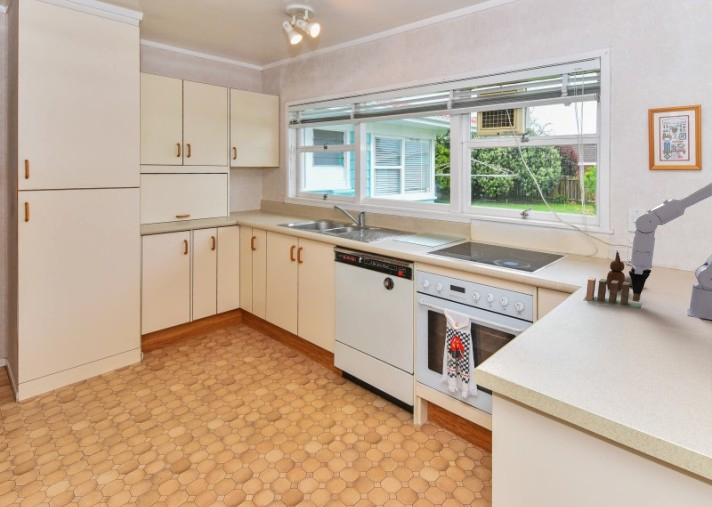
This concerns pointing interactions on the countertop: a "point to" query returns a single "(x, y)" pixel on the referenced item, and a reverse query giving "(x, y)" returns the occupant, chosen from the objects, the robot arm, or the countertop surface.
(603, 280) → the domino
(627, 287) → the domino
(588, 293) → the domino end
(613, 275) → the wooden figurine
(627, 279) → the garlic bulb
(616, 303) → the mat
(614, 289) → the domino
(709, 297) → the robot arm
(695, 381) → the countertop surface
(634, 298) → the domino
